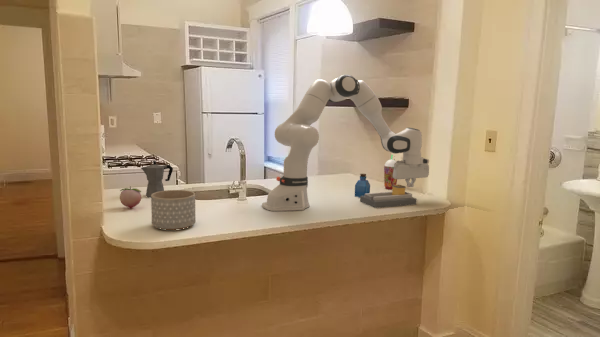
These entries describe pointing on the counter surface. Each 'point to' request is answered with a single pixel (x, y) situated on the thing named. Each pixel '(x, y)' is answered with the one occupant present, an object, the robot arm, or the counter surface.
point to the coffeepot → (155, 177)
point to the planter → (173, 209)
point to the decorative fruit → (130, 197)
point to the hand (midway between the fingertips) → (410, 186)
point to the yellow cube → (398, 190)
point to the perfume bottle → (362, 186)
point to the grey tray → (387, 199)
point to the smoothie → (389, 174)
